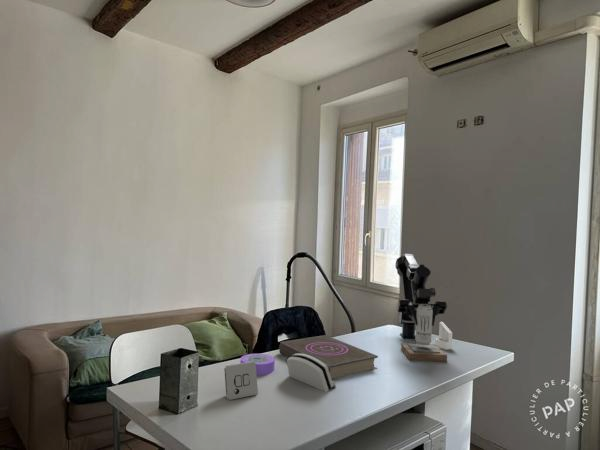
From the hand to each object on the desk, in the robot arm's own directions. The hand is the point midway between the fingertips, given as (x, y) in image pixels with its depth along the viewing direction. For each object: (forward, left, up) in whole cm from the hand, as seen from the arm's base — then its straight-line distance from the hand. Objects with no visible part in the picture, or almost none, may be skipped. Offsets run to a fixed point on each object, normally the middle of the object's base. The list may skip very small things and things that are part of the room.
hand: (424, 325), depth 167 cm
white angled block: (-13, +12, -12) cm, 22 cm away
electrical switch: (+43, -66, -12) cm, 80 cm away
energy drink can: (-1, 0, -8) cm, 8 cm away
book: (+10, -39, -13) cm, 42 cm away
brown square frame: (-1, 0, -12) cm, 12 cm away
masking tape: (+21, -63, -13) cm, 67 cm away
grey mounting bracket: (+32, -45, -13) cm, 57 cm away
